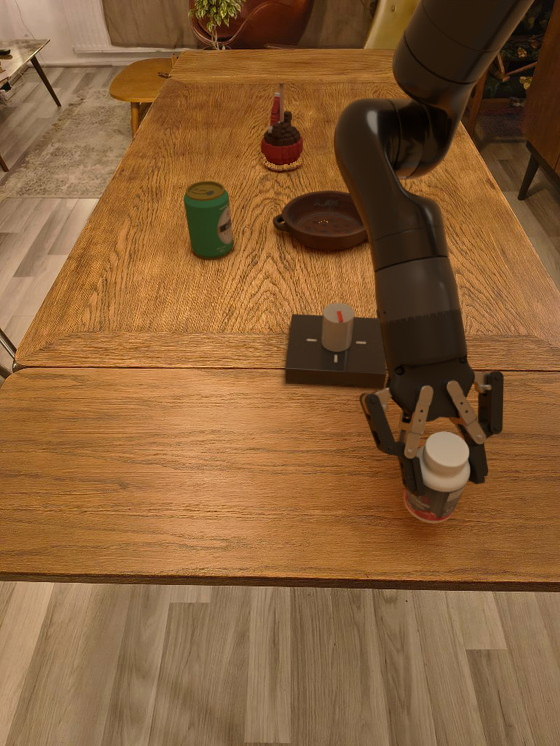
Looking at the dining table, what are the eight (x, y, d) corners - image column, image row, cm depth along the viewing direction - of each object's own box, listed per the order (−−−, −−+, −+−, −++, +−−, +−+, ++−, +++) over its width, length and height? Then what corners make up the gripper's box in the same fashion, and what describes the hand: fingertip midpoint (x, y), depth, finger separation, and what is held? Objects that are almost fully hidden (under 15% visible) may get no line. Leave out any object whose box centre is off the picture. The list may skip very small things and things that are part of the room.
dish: (278, 209, 109) (278, 187, 105) (384, 214, 107) (387, 191, 103) (267, 255, 97) (266, 231, 93) (385, 261, 95) (389, 237, 91)
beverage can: (222, 264, 95) (216, 203, 87) (184, 256, 97) (174, 196, 89) (240, 242, 100) (235, 183, 92) (203, 235, 102) (195, 176, 94)
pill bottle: (392, 501, 55) (405, 447, 48) (422, 471, 57) (439, 415, 50) (434, 535, 52) (456, 483, 45) (465, 502, 54) (489, 448, 47)
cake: (294, 176, 120) (294, 92, 107) (256, 171, 122) (252, 88, 109) (307, 158, 127) (309, 77, 114) (271, 153, 129) (269, 73, 116)
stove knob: (319, 332, 77) (320, 301, 73) (348, 330, 77) (351, 300, 73) (323, 353, 74) (325, 322, 70) (353, 351, 74) (357, 319, 70)
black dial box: (380, 332, 81) (382, 317, 79) (383, 388, 73) (386, 373, 71) (291, 328, 82) (291, 312, 80) (285, 383, 74) (285, 367, 72)
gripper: (357, 321, 44) (389, 515, 44) (511, 296, 46) (540, 481, 46) (336, 328, 51) (364, 494, 52) (469, 306, 53) (495, 466, 54)
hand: (447, 487), depth 49 cm, fingers closed on pill bottle, 5 cm apart
